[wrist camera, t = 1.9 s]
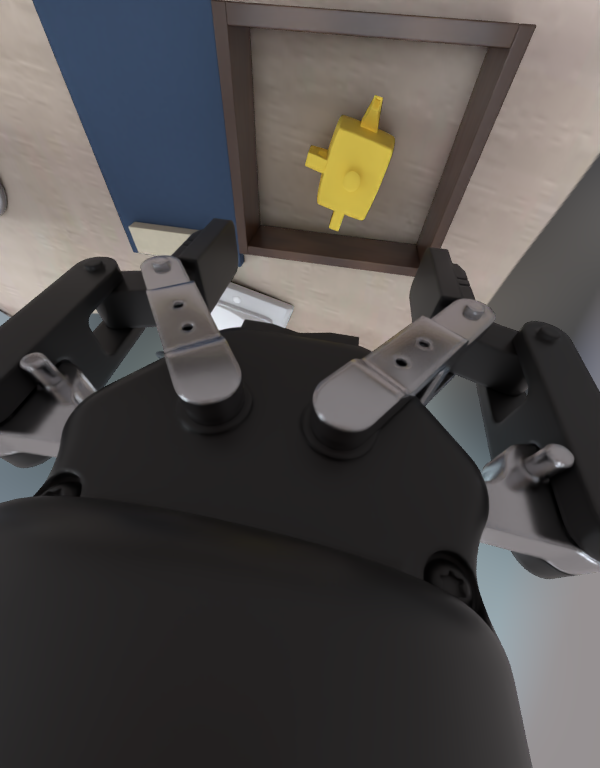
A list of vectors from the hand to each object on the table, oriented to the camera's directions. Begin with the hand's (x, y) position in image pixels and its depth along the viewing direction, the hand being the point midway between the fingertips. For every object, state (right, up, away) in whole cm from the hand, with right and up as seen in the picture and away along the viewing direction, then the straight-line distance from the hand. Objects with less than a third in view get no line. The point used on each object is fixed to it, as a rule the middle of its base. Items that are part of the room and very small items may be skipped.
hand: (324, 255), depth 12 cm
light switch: (-9, +3, +25) cm, 27 cm away
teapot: (+3, +13, +11) cm, 17 cm away
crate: (+3, +13, +10) cm, 17 cm away
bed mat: (-12, +15, +11) cm, 23 cm away
